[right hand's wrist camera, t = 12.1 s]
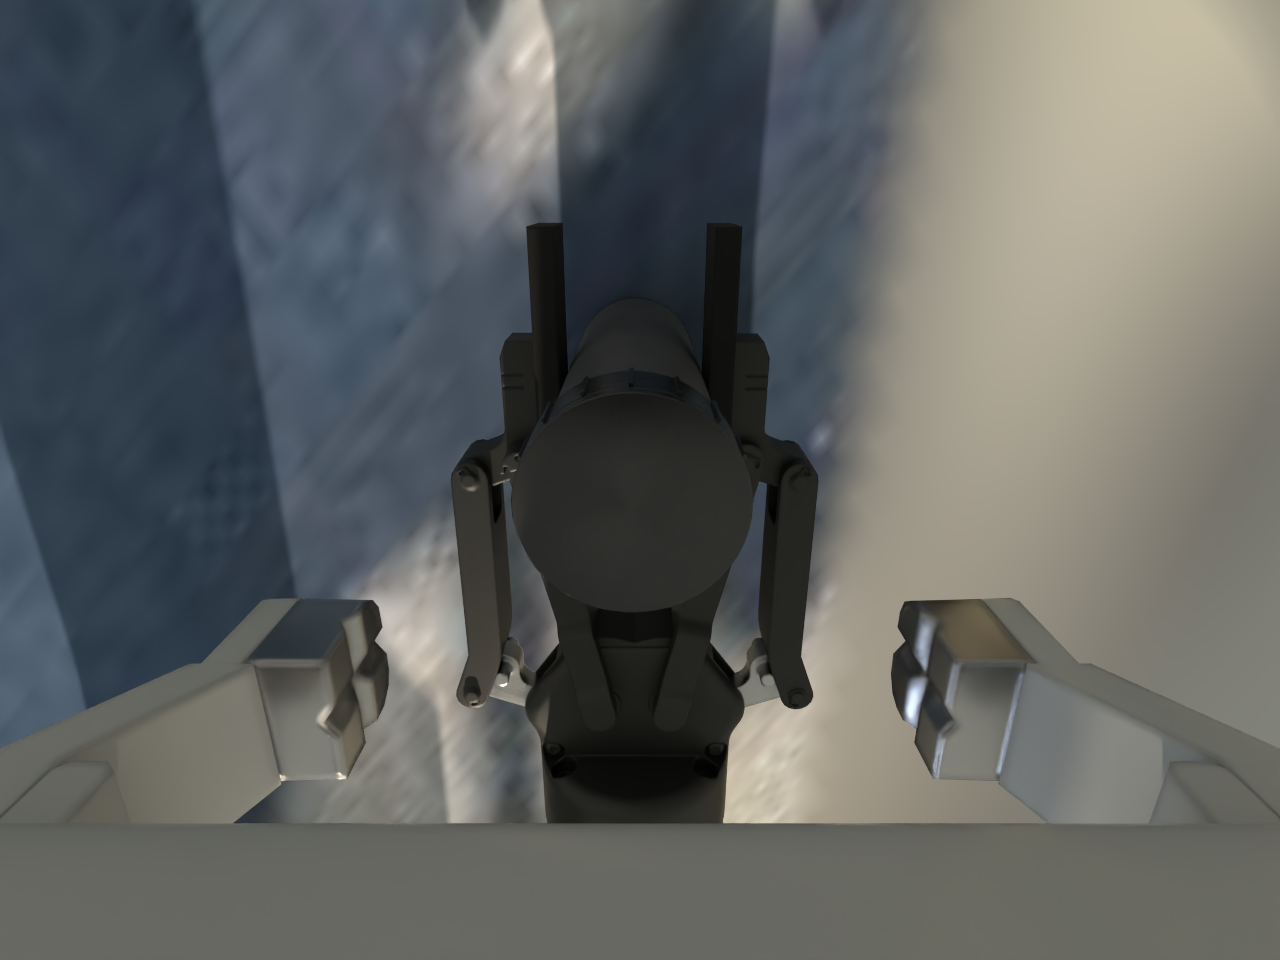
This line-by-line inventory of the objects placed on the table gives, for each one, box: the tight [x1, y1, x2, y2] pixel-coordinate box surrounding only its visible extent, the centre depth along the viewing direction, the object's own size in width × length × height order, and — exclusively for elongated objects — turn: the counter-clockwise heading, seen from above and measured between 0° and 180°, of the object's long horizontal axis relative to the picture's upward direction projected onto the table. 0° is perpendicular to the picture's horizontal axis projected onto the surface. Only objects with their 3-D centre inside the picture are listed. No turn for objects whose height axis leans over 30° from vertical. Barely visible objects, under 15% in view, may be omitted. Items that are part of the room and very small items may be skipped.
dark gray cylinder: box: [558, 298, 711, 401], centre depth 22 cm, size 5×5×15 cm
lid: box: [511, 368, 754, 612], centre depth 16 cm, size 5×5×2 cm
